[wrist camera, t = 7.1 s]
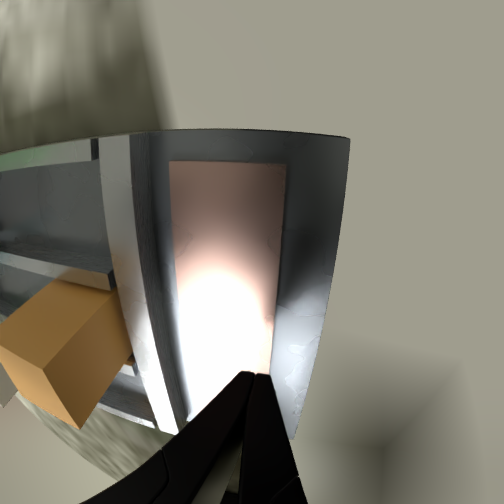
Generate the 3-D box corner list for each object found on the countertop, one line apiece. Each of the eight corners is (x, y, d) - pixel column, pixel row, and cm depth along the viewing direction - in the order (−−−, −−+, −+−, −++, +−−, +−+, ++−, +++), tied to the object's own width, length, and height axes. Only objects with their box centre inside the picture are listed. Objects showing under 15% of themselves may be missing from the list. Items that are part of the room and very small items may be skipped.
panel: (295, 420, 13) (291, 456, 11) (-10, 321, 16) (-26, 336, 15) (344, 136, 8) (357, 141, 6) (-52, 169, 11) (-74, 178, 9)
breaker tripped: (135, 348, 10) (79, 429, 7) (78, 331, 11) (21, 395, 7) (119, 287, 9) (42, 369, 6) (60, 274, 10) (-13, 336, 6)
